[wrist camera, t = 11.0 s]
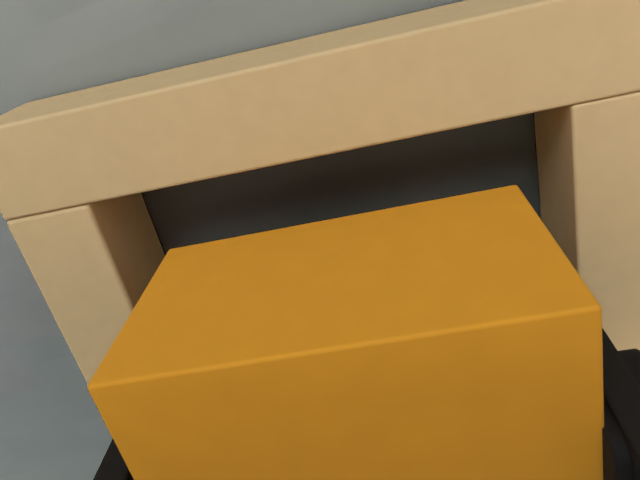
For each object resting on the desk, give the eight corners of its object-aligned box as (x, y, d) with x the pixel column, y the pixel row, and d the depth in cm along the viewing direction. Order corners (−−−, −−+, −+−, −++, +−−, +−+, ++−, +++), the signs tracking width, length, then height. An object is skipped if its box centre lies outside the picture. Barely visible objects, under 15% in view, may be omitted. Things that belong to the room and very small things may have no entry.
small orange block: (259, 486, 14) (227, 669, 11) (168, 248, 11) (84, 386, 8) (540, 451, 13) (609, 638, 10) (517, 183, 10) (603, 306, 7)
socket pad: (201, 495, 18) (180, 571, 16) (25, 102, 13) (-41, 134, 11) (621, 442, 17) (663, 519, 14) (619, -37, 11) (687, -32, 9)
